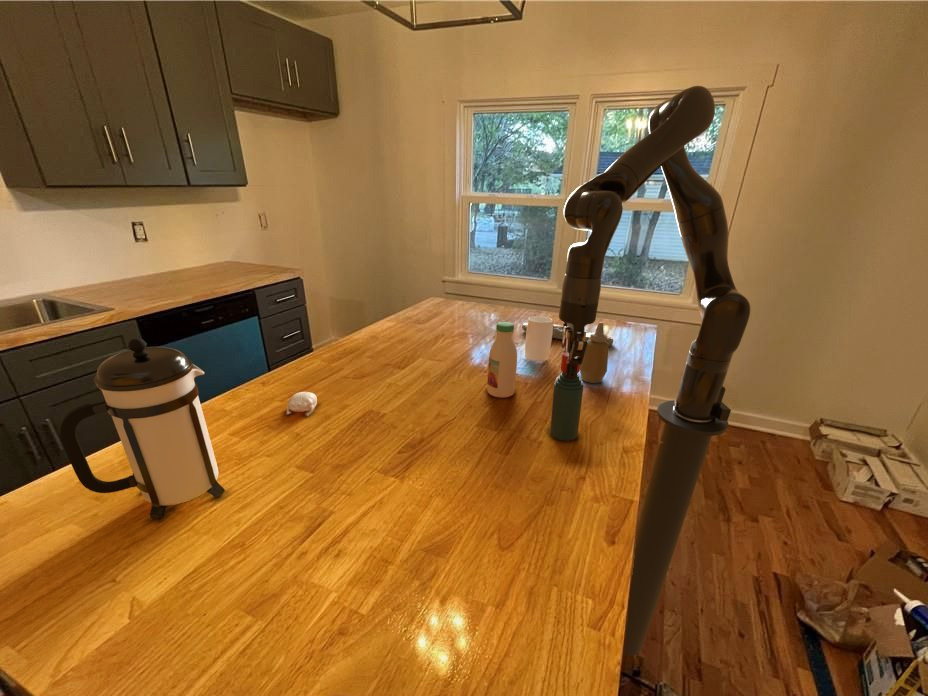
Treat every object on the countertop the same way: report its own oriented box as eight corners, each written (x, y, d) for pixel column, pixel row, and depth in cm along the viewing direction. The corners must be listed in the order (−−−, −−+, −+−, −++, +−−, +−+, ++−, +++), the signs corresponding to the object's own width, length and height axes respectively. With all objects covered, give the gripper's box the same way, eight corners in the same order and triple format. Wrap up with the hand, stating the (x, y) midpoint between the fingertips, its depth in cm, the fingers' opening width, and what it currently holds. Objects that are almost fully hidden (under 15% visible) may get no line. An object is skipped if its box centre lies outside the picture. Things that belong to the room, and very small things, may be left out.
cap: (560, 373, 92) (561, 356, 90) (560, 366, 95) (562, 350, 93) (579, 374, 91) (581, 358, 89) (579, 367, 94) (581, 351, 93)
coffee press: (175, 462, 86) (129, 320, 73) (247, 473, 84) (212, 327, 71) (94, 523, 70) (17, 356, 58) (179, 538, 68) (119, 367, 55)
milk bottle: (513, 386, 122) (519, 320, 114) (515, 399, 115) (521, 328, 107) (486, 385, 123) (490, 319, 114) (487, 397, 116) (490, 327, 107)
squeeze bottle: (587, 386, 124) (597, 327, 116) (572, 375, 131) (581, 319, 123) (610, 383, 126) (621, 325, 118) (594, 373, 133) (604, 317, 125)
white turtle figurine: (309, 417, 104) (307, 403, 102) (282, 415, 104) (280, 402, 102) (321, 402, 111) (319, 389, 109) (296, 400, 111) (294, 387, 110)
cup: (523, 354, 145) (527, 314, 139) (548, 356, 145) (552, 316, 139) (524, 364, 138) (528, 322, 132) (550, 365, 137) (555, 323, 131)
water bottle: (566, 423, 104) (574, 349, 95) (583, 436, 99) (593, 359, 90) (544, 430, 101) (550, 354, 93) (561, 443, 96) (569, 364, 88)
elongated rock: (609, 353, 152) (612, 346, 161) (612, 339, 150) (616, 333, 159) (517, 332, 165) (525, 327, 173) (519, 319, 163) (527, 314, 171)
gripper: (556, 289, 92) (547, 361, 100) (567, 306, 80) (556, 388, 87) (590, 290, 92) (579, 362, 100) (607, 307, 79) (592, 389, 87)
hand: (568, 374), depth 93 cm, fingers closed on cap, 4 cm apart
